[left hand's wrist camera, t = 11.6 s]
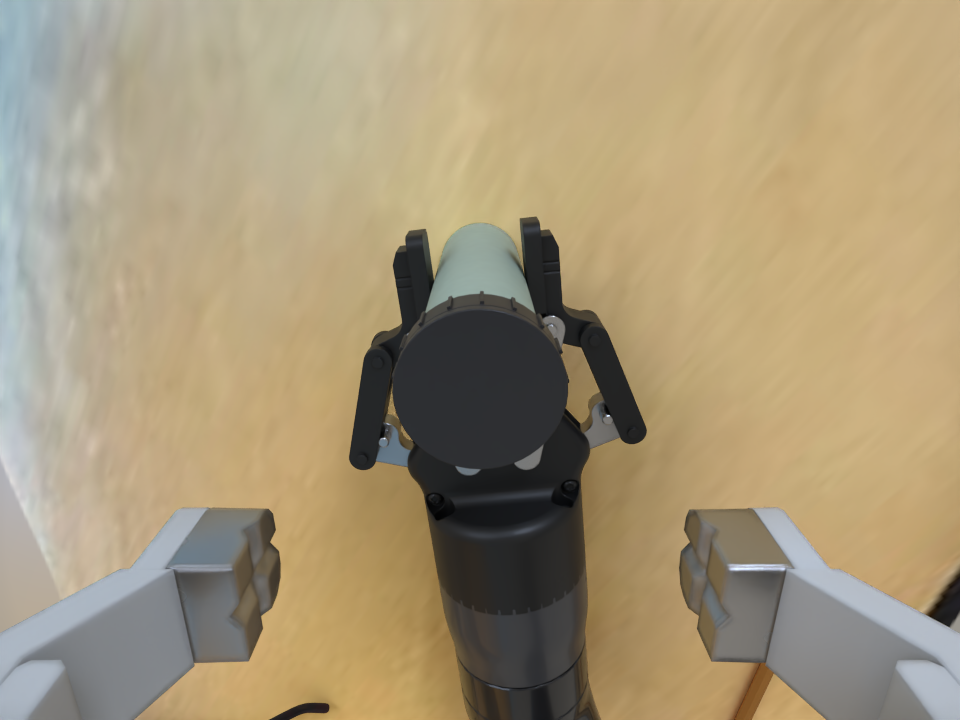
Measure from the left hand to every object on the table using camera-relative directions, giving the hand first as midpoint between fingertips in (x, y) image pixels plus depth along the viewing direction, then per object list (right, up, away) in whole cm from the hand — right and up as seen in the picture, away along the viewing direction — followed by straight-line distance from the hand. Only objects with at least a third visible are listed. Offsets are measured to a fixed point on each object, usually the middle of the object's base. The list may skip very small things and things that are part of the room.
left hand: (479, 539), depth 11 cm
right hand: (0, +8, +14) cm, 17 cm away
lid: (0, +2, +6) cm, 7 cm away
